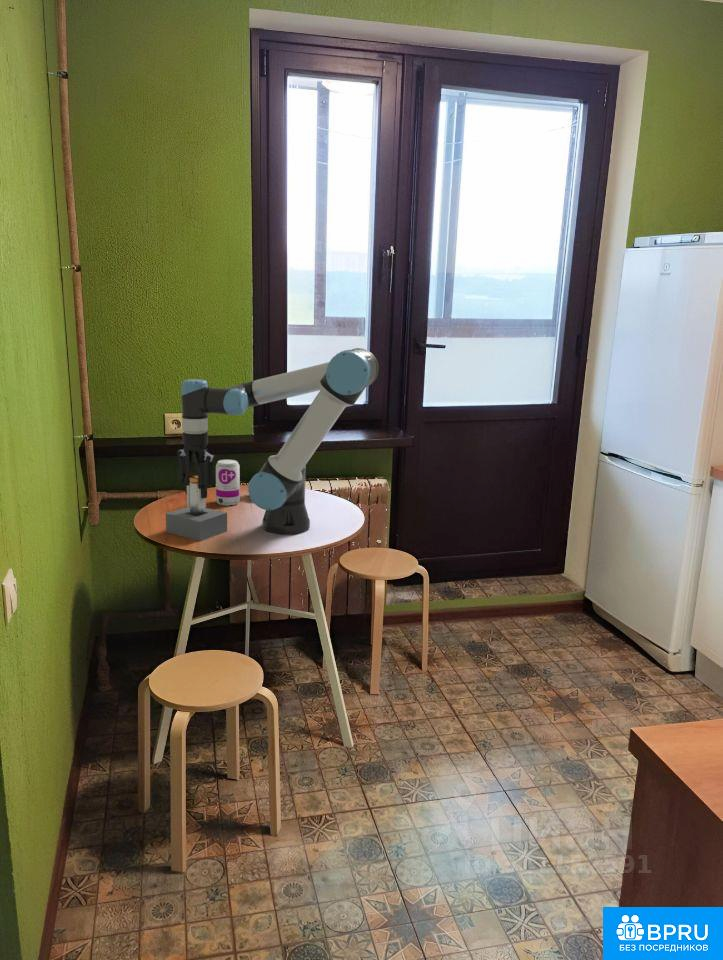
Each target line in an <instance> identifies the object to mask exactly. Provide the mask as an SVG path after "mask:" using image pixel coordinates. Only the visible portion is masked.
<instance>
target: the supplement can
mask: <svg viewBox="0 0 723 960" xmlns="http://www.w3.org/2000/svg"><path fill="white" fill-rule="evenodd" d="M240 470H241V469H240V464H239V462H238V460H235V459H220V460H218V461H217V463H216V465H215V502H216V503H217V504H218V505H221V506H229V507H230V505H232V506H235V505H238V504H239V502H241V501H240V495H241V494H240V492H241V491H240V490H241V489H240V487H241V486H240V481H241V479H240V475H241V473H240Z"/></svg>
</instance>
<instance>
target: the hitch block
mask: <svg viewBox="0 0 723 960" xmlns="http://www.w3.org/2000/svg"><path fill="white" fill-rule="evenodd" d="M165 530H166V531H165V532H166V533H167V532H168V534H171V535H176V536H180V537H182V538H187V539H191V540H195V541H199V542H201V541H206V540H207V539H210V538H212V537H216V536H217V535H220V534H223V533H226V532H228V513H227V512H225V511H221V510H218V509H213V508H207V507H205V508H203V515H200V516H193V515H190V507H188V506H186V507H181V508H179V509H175V510H172V511H170V512H166V513H165Z"/></svg>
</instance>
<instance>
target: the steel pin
mask: <svg viewBox="0 0 723 960" xmlns="http://www.w3.org/2000/svg"><path fill="white" fill-rule="evenodd" d="M198 487H200V486H199V479H198V475H194V476H190V477H189V488H190V515H193V516H200V515H203V508H202V509H198Z"/></svg>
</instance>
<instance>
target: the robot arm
mask: <svg viewBox="0 0 723 960" xmlns="http://www.w3.org/2000/svg"><path fill="white" fill-rule="evenodd" d="M378 374H379V363H378V359H377V358H376V356H375V355H374V354H373V353H372V352H370V350H368V349H366V348H362V347H361V348H358V347H356V348H352V349H346V350H345V349H344V350H343V351H340V352H337V353H336V354H335V355H334V356H333V357H331V359H330V360H329V361H328V362H324V363H319V364H317V365H312V366H309V367H308V366H307V367H303V368H300V369H295V370H291V371H288V372H283V373H280V374H276V375H271V376H267V377H263V378H259V379H256V380H251V381H247V382H241V383H239V384H235V385H231V386H229V387H224V388H221V387H210V386H208V381H207V380H205V379H201V378H199V379H198V378H197V379H196V378H192V379H190V378H189V379H184V380H183V381H182V382H181V394H180V397H181V430H182V431H183V432H182V434H181V435H182V436H181V437H182V444H183V445H184V446H183V449H178V450H176V455H177V458H178V470H179V471H178V472H179V482H180V483H184V485H185V486H184V487H185V495H186V507H190V488H189V477H190V476H195V468H196V472H197V476H198V479H199V486H200V487H198V509H202V508H207V500H206V499H207V498H208V487H212V486H213V484H214V483H213V481H214V460H215V458H216V456H215V454H211V453H210V452H209V450H208V447H207V446H208V444H209V433H208V432H207V431H208V430H209V425H208V424H209V423H208V419H209V417H208V416H209V414H219V415H230V416H243V415H244V414H246V411H247V410H248V408H252V407H256V406H259V405H264V404H267V403H273V402H276V401H282V400H285V399H289V398H294V397H298V396H302V395H306V394H310V393H315V392H318V393H317V394H316V396H315V398H314V399H313V401H312V402H311V404H310V405H309V407H308V408H307V410H306V411H305V412H304V414H303V416H302V417H301V418H300V420H299V422H298V423H297V424H296V426H295V427H294V429H293V430H292V432H291V433H290V435H288V437H287V438H286V441H285V442H284V443H283V445H282V447H281V448H280V450H279V451H278V453H277V454H274V455H270V456H268V458H267V460H265V463H263V466H262V467H261V468H260V470H259V471H258V472H257V473H256V474H254V475H252V477H251V479H250V481H249V482H248V486H247V487H248V488H247V492H248V495H249V498H250V500H251V501H252V503H253V504H254V505H255V506H257V507H258V508H259V509H261V510H264V511H265V512H264V514H263V518H262V523H261V525H262V529H263V530H264V531H266V532H268V533H273V534H274V533H275V534H280V535H292V534H299V533H304V532H306V531H309V529H310V527H311V520H310V517H309V514H308V511H307V507H306V502H305V501H306V470H307V467H306V465H307V464H308V462H309V461H310V459H311V458H312V456H313V455H314V454H315V452H316V450H317V449H318V447H320V445H321V443H322V442H323V441H324V439H325V437H326V436H327V434H328V433H329V431H330V430H331V429H332V427H333V426H334V425H335V423H336V422H337V420H338V419H339V417H340V416H341V414H342V413H343V411H344V410H345V409H346V408H347V407H352V406H354V405H355V403H356V402H357V401H358V399H359V398H360V396H361V395H362V394H363V392H364V391H365V389H367V387H369V386H370V385H372V384H373V383H374V382H375V381H376V380H377V377H378Z"/></svg>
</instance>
